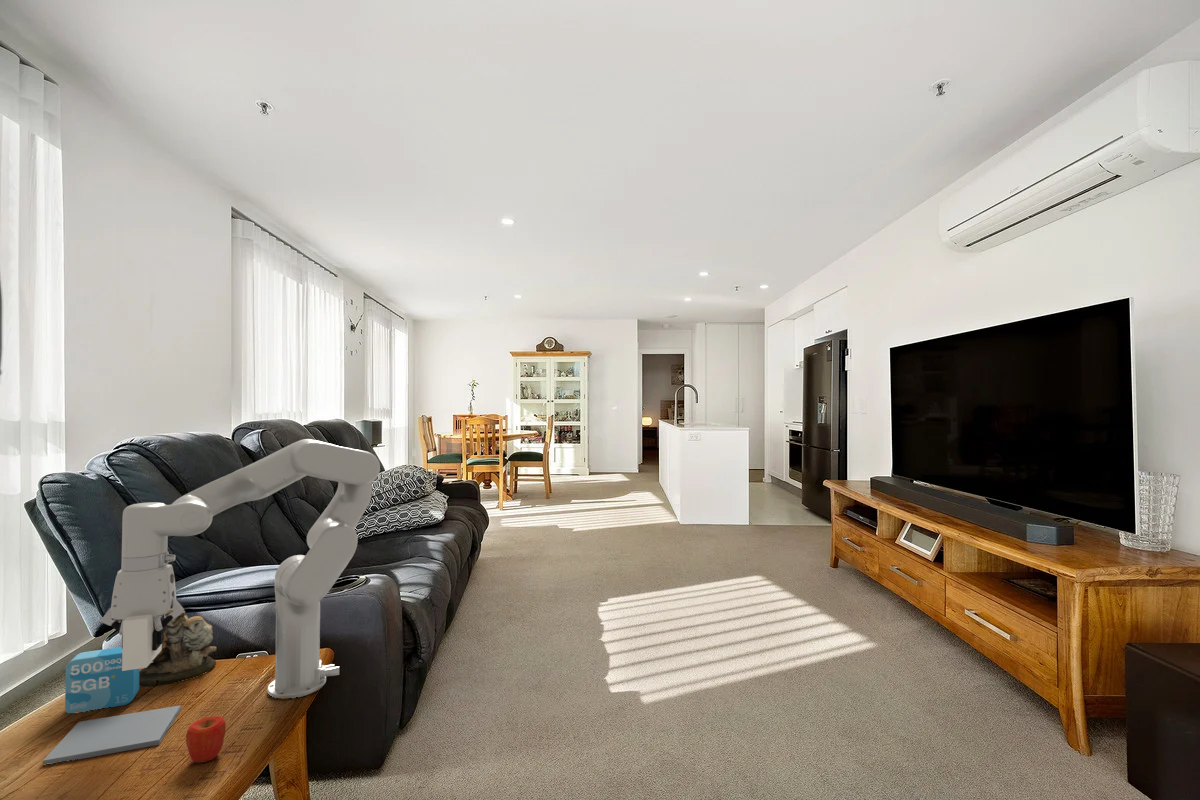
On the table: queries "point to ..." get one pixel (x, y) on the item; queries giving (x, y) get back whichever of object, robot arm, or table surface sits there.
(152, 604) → the robot arm
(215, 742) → the apple
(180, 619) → the owl figurine
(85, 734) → the board
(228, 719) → the table surface
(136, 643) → the slab
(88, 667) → the data package
